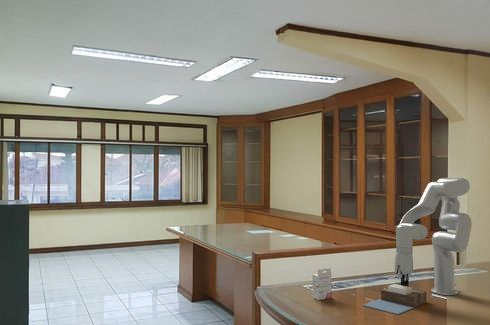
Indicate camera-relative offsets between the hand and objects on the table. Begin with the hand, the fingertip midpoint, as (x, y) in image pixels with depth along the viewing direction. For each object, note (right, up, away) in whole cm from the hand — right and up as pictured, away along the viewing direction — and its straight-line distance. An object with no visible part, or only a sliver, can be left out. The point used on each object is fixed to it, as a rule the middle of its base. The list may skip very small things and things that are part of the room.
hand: (404, 288), depth 214 cm
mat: (-12, -6, -11) cm, 17 cm away
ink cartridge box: (-39, -7, +5) cm, 40 cm away
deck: (-1, -6, -1) cm, 6 cm away
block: (-3, -1, -3) cm, 5 cm away
